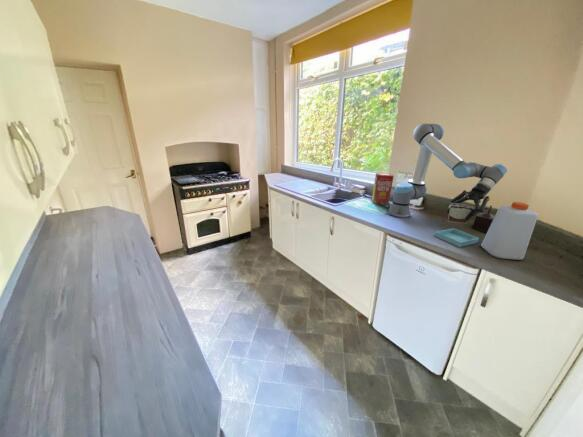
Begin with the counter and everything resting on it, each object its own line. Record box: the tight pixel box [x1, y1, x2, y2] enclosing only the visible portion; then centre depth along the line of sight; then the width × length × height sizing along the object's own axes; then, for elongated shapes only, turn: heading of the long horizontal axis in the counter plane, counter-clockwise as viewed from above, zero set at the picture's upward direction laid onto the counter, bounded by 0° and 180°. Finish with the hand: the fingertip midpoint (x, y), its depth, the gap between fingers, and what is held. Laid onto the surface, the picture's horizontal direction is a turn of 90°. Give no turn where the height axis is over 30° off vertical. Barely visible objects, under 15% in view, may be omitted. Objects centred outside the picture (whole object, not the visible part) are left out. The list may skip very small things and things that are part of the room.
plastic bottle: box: [481, 201, 539, 261], centre depth 121 cm, size 15×15×28 cm
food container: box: [447, 202, 475, 225], centre depth 137 cm, size 12×6×10 cm, turn 71°
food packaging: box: [371, 172, 394, 205], centre depth 203 cm, size 13×9×25 cm
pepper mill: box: [471, 199, 495, 233], centre depth 156 cm, size 16×11×18 cm
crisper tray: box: [434, 227, 480, 248], centre depth 140 cm, size 15×16×3 cm
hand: (457, 215), depth 136 cm, fingers closed on food container, 10 cm apart
